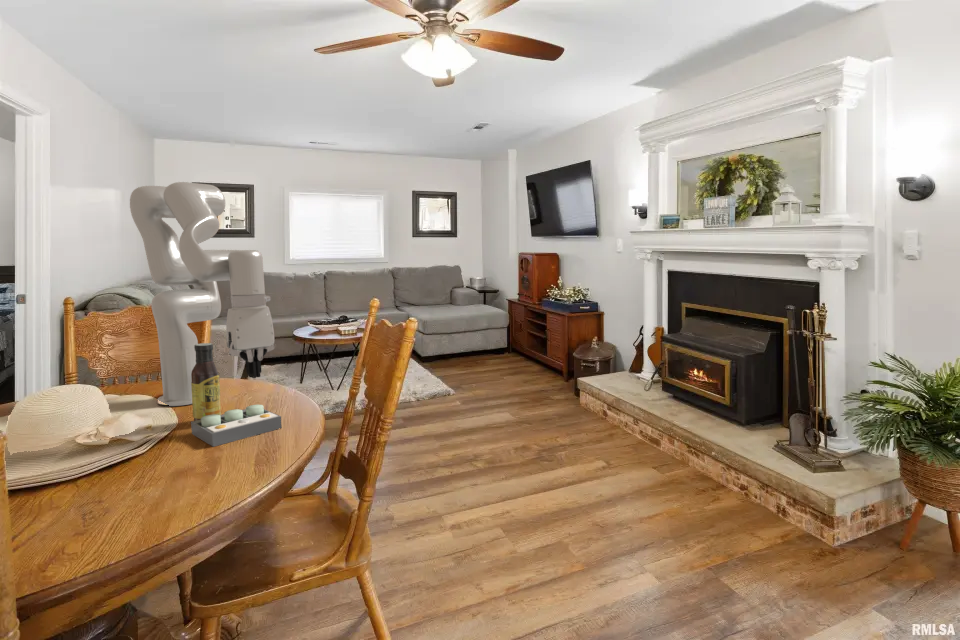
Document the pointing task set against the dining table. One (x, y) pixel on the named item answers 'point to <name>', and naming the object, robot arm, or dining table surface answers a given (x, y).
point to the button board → (236, 428)
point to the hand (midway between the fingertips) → (254, 376)
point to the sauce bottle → (205, 383)
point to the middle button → (233, 415)
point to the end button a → (210, 420)
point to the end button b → (254, 410)
